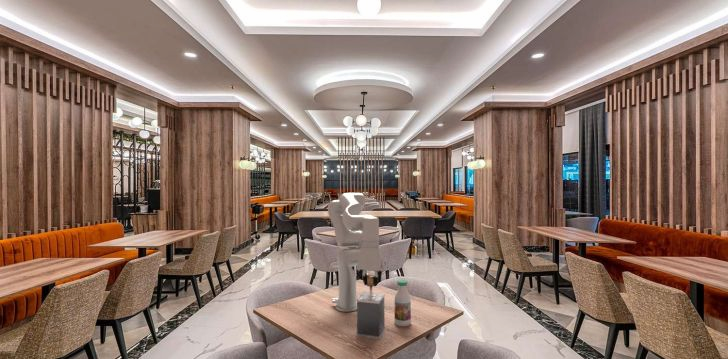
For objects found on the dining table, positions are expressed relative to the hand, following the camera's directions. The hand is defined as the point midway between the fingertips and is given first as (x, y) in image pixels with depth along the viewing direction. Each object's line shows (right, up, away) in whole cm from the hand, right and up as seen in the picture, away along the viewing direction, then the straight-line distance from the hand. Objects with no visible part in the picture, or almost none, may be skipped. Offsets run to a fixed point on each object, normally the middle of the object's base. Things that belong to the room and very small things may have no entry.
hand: (370, 284), depth 140 cm
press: (0, -21, +1) cm, 21 cm away
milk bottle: (+15, -22, +8) cm, 28 cm away
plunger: (0, -16, 0) cm, 16 cm away
